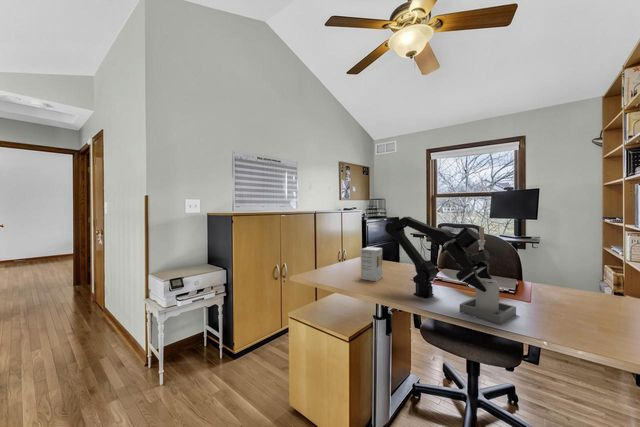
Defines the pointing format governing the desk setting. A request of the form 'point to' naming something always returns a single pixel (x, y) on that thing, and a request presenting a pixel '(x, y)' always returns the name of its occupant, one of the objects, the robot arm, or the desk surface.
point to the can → (488, 296)
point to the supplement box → (371, 263)
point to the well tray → (498, 318)
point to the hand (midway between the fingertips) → (489, 288)
